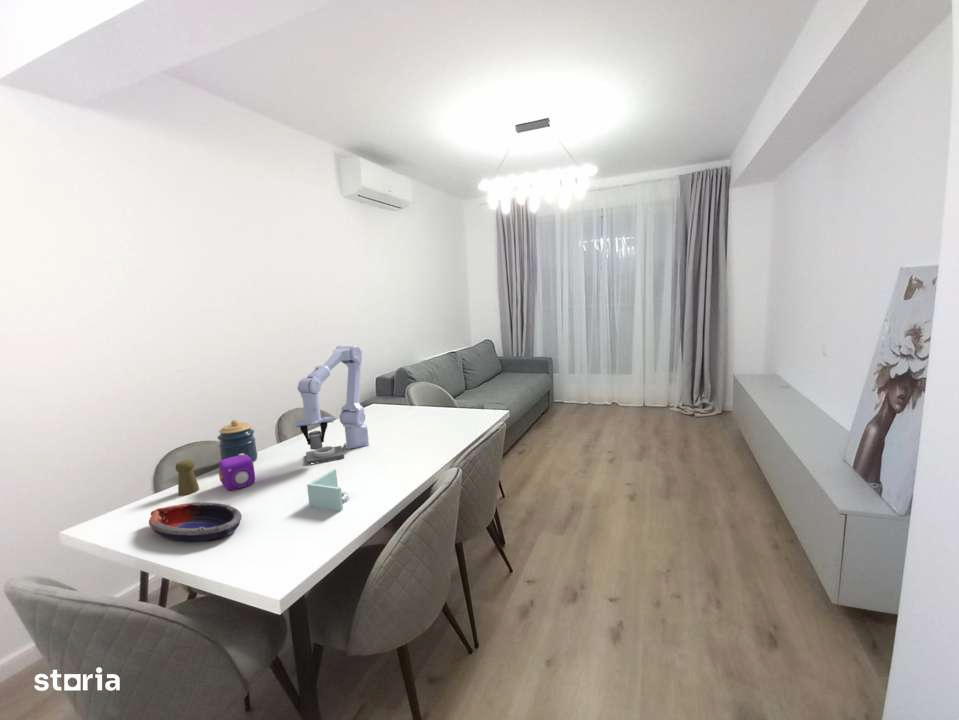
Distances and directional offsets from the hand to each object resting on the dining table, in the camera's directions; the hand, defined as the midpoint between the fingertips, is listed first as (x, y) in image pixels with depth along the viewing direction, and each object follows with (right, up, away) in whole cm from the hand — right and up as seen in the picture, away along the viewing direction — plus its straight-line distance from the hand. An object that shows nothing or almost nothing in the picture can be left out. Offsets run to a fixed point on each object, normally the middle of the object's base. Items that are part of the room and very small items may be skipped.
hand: (315, 442), depth 160 cm
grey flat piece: (0, -8, +9) cm, 12 cm away
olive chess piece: (-37, -14, -18) cm, 43 cm away
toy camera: (-21, -12, -15) cm, 28 cm away
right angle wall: (+19, -13, -29) cm, 37 cm away
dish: (-17, -16, -43) cm, 49 cm away
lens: (0, -2, 0) cm, 2 cm away
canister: (-34, -10, +8) cm, 37 cm away
